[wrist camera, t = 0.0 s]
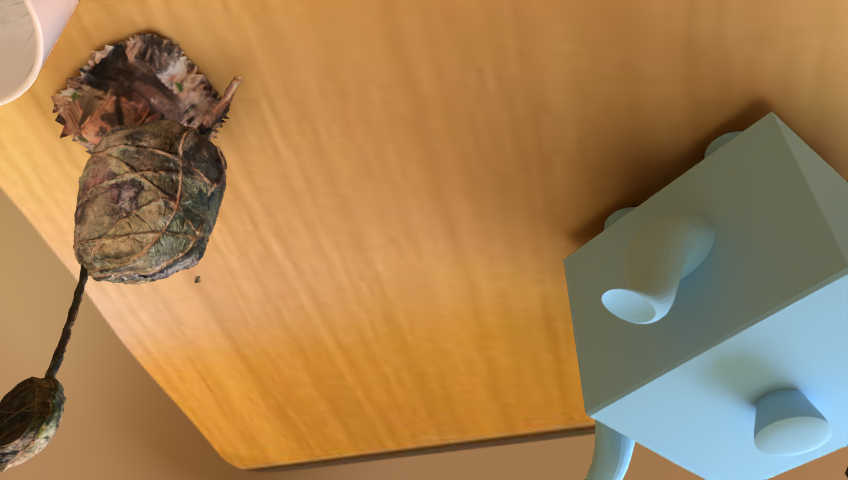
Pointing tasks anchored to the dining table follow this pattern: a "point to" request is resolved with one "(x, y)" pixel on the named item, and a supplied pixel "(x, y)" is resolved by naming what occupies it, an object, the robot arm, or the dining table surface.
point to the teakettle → (720, 314)
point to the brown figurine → (129, 194)
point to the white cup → (28, 40)
